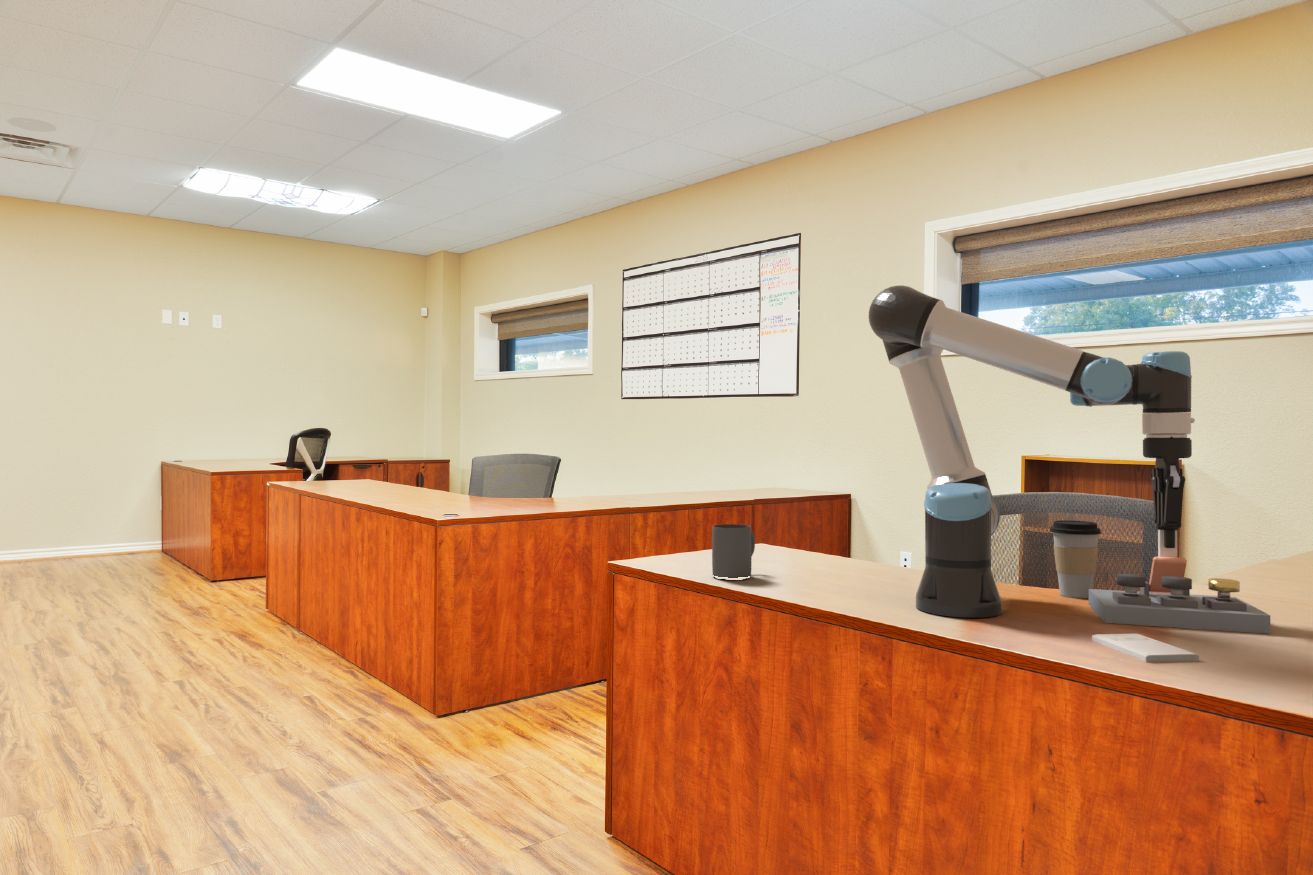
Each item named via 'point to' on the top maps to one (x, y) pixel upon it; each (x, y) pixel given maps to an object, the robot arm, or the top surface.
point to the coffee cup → (1075, 556)
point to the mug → (732, 550)
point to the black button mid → (1176, 584)
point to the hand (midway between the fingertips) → (1167, 564)
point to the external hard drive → (1144, 648)
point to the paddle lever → (1165, 571)
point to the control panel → (1178, 610)
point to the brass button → (1223, 586)
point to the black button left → (1131, 582)
